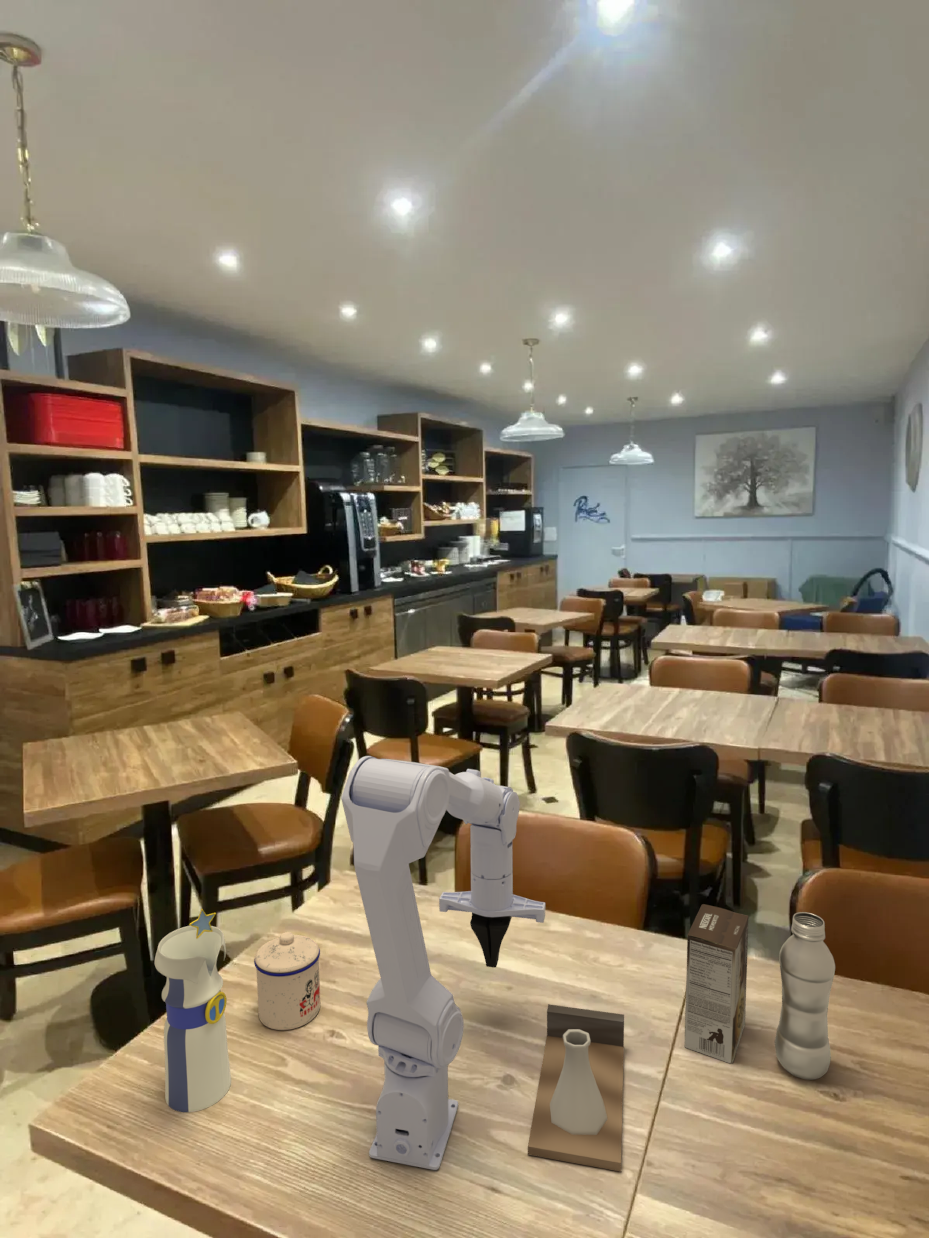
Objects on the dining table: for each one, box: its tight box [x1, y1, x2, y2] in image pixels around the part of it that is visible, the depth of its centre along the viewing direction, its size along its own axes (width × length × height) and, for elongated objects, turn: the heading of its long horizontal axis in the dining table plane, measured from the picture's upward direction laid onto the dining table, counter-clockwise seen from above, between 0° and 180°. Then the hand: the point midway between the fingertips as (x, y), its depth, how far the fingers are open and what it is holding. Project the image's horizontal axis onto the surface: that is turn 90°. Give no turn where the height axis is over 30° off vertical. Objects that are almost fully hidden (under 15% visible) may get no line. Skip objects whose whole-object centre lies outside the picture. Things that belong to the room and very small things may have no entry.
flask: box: [550, 1029, 607, 1135], centre depth 84 cm, size 7×7×10 cm
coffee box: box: [684, 903, 749, 1064], centre depth 98 cm, size 9×6×16 cm
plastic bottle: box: [774, 911, 836, 1081], centre depth 91 cm, size 6×7×20 cm
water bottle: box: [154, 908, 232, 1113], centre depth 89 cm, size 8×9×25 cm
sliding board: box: [527, 1003, 625, 1172], centre depth 88 cm, size 20×10×4 cm, turn 167°
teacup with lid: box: [253, 931, 321, 1031], centre depth 105 cm, size 12×9×12 cm
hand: (492, 962), depth 101 cm, fingers closed
